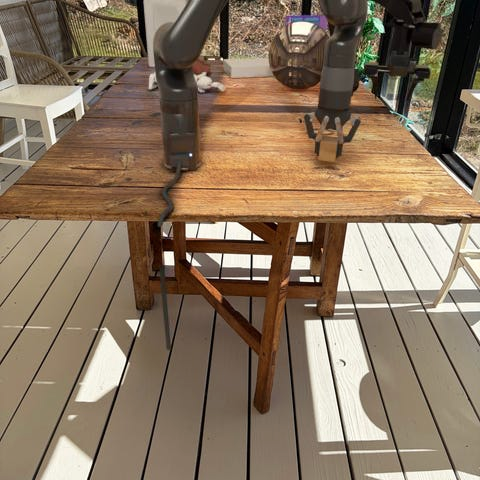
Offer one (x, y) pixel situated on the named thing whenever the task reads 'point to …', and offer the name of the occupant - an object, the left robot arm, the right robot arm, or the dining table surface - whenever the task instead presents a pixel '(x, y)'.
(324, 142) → the brick
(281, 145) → the dining table surface
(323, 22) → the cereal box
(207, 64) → the anatomical model
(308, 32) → the sphere
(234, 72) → the disc drive
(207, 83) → the toy
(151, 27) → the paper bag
